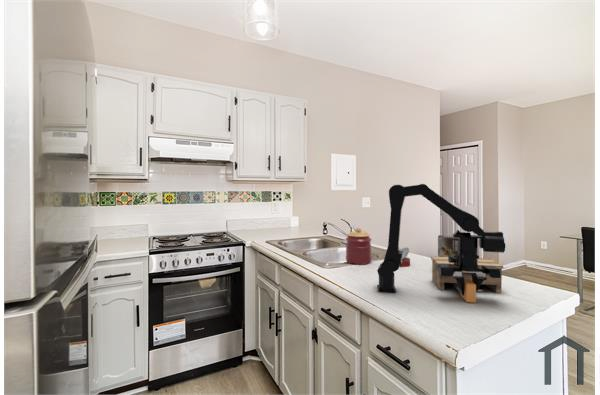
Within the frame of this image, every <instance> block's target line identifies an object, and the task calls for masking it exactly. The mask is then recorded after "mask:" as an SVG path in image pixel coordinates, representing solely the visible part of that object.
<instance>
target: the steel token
mask: <svg viewBox="0 0 600 395" xmlns="http://www.w3.org/2000/svg"><path fill="white" fill-rule="evenodd" d="M479 291H481V292H484V291H485V289H484V287H481V286H479V288H478V290H477V291H476V292H479Z"/></svg>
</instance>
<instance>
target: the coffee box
mask: <svg viewBox="0 0 600 395" xmlns="http://www.w3.org/2000/svg"><path fill="white" fill-rule="evenodd" d="M458 251H459V238H458V237H453V235H440V234H438V236H437V257H448V254H455V256H457V253H458Z"/></svg>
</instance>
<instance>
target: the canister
mask: <svg viewBox="0 0 600 395" xmlns="http://www.w3.org/2000/svg"><path fill="white" fill-rule="evenodd" d="M370 235H371V234H370V233H368V232H367V231H363V230H362V228H360V227H356V230H352V231H350V232H349V233H347V237H346V238H345V241H346V244H345V246H346V247H345V250H346V251H345V253H346V254H345V260H346V263H348V264H351V263H354V264H353V265H361V266H362V265H369V264H371V262H372V245H371V241H372V238H371V237H370Z"/></svg>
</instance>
